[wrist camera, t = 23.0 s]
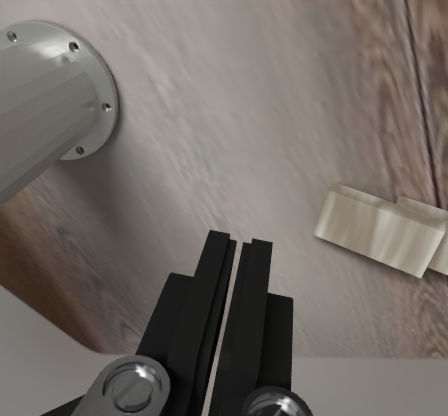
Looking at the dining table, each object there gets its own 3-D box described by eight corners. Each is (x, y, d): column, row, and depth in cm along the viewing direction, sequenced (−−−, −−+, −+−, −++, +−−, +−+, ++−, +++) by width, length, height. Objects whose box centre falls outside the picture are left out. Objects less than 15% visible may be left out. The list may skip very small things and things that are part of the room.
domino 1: (313, 234, 40) (420, 278, 36) (328, 190, 37) (445, 232, 34) (319, 225, 41) (422, 266, 38) (333, 182, 39) (446, 221, 35)
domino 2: (377, 248, 39) (491, 291, 36) (396, 203, 37) (520, 246, 34) (380, 238, 41) (489, 279, 38) (398, 194, 38) (518, 235, 35)
